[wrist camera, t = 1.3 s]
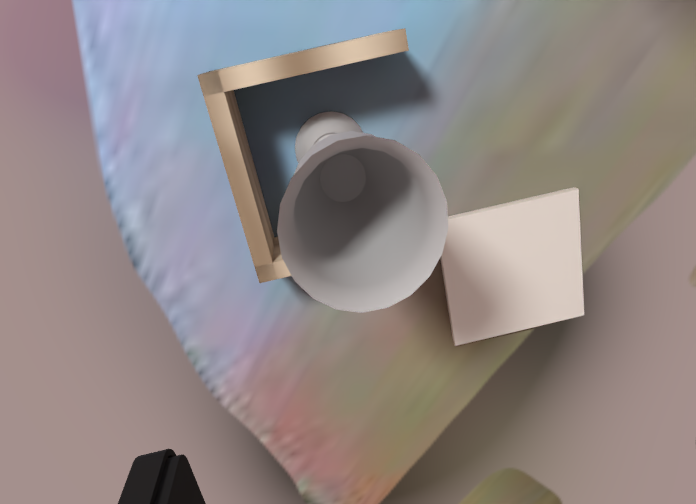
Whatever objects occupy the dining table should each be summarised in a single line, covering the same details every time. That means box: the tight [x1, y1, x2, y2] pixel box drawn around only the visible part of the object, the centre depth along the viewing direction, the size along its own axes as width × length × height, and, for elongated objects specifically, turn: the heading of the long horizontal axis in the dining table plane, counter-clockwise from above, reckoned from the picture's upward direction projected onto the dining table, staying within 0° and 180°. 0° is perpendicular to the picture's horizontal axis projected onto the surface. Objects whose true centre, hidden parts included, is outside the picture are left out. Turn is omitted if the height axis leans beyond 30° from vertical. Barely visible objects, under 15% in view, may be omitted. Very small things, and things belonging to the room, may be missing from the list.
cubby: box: [197, 29, 409, 283], centre depth 35 cm, size 12×13×5 cm
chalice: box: [277, 111, 448, 313], centre depth 29 cm, size 7×7×18 cm
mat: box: [440, 187, 584, 346], centre depth 42 cm, size 11×11×1 cm
